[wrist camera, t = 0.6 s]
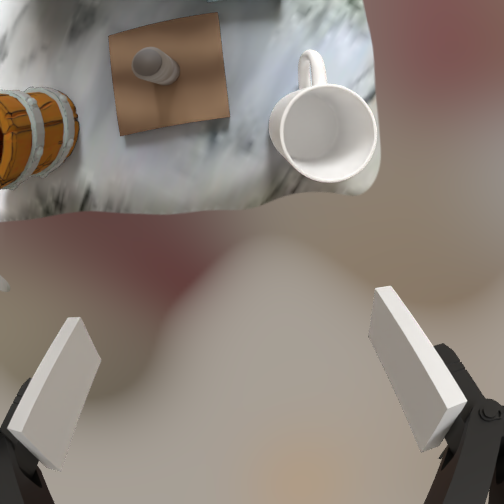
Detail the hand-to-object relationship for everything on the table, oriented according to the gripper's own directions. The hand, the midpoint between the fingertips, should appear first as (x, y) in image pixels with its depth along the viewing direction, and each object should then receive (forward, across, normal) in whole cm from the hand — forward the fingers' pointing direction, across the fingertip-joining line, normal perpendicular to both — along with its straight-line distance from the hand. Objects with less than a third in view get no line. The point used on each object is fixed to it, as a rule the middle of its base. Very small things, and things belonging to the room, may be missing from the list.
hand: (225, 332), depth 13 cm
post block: (+25, -5, +14) cm, 29 cm away
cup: (+25, +9, +8) cm, 28 cm away
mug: (+25, -24, +10) cm, 36 cm away
